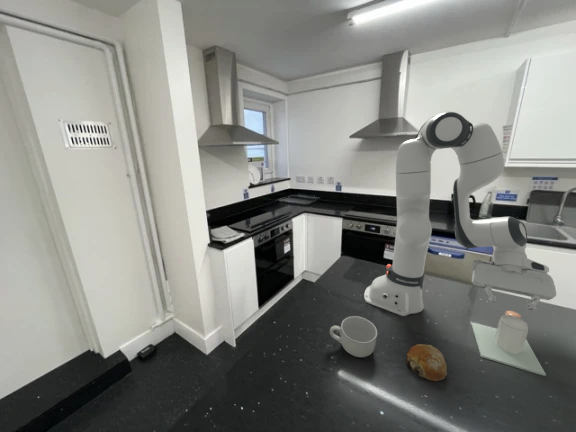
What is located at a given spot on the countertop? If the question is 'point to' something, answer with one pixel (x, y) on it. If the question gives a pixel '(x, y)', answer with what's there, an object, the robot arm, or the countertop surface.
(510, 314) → the brown egg
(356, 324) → the teacup
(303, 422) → the countertop surface
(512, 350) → the domed hexagonal post
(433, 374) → the bread roll
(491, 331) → the mat
